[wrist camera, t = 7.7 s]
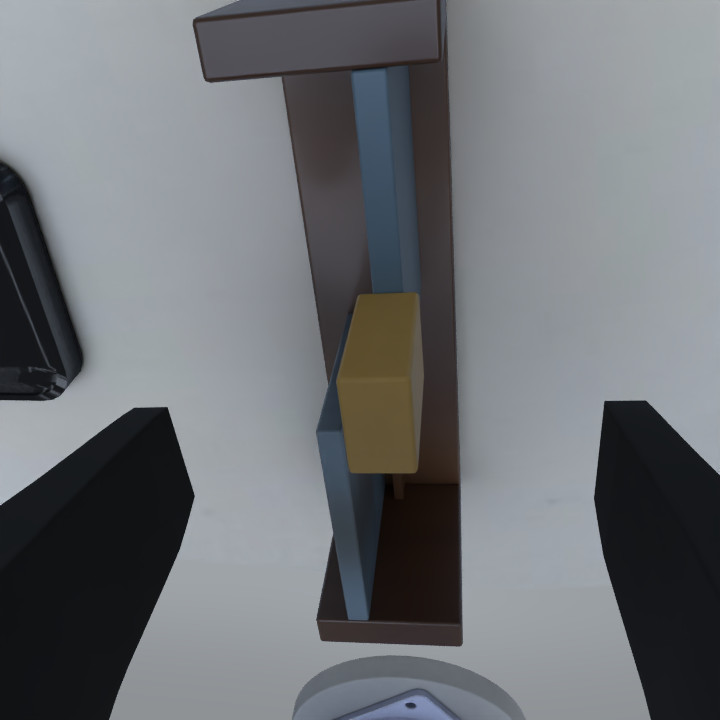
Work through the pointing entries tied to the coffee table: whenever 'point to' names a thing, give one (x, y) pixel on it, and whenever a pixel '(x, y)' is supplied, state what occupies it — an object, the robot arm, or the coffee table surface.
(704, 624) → the robot arm
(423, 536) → the window frame
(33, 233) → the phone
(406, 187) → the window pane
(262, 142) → the coffee table surface
